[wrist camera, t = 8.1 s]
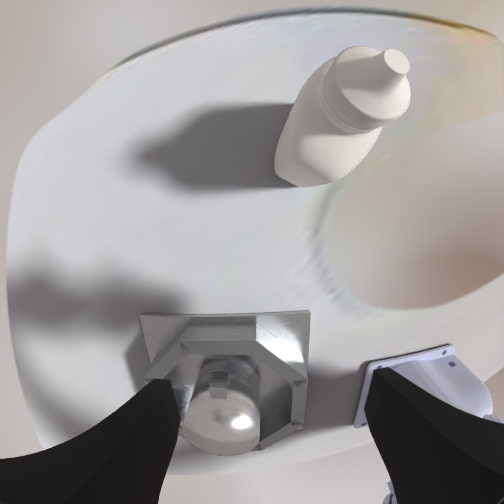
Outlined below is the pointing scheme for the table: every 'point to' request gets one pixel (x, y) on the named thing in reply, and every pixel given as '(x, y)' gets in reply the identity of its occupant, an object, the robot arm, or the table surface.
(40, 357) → the table surface
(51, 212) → the table surface
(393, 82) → the eye dropper bottle
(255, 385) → the silver short rounded cylinder
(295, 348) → the collar
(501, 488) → the robot arm
